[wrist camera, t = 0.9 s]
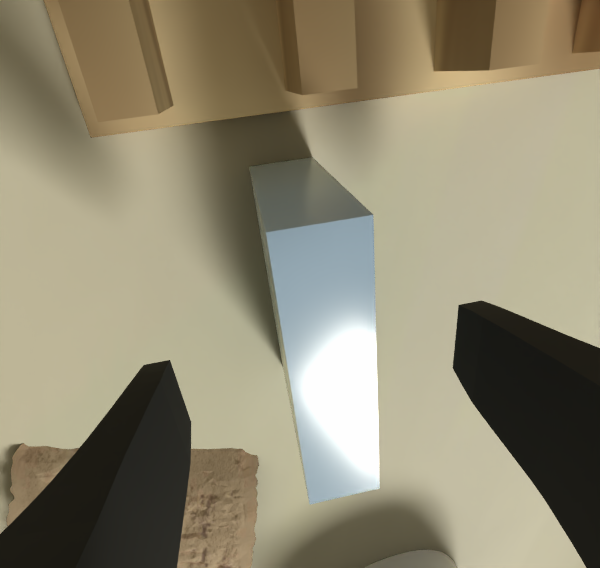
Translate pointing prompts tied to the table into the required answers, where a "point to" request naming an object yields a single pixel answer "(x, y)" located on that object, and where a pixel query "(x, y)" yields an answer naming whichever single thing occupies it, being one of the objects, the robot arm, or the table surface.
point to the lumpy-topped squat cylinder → (416, 560)
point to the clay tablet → (198, 509)
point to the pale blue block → (323, 320)
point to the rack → (302, 53)
